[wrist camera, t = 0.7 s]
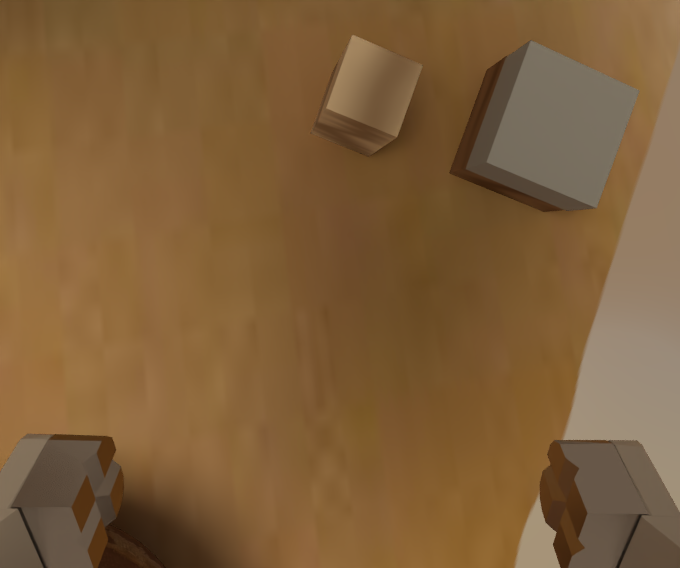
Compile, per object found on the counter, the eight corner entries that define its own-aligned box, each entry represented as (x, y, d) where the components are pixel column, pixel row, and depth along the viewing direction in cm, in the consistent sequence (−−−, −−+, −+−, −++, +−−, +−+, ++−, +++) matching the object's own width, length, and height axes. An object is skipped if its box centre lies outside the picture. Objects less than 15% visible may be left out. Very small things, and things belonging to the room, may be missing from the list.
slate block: (465, 169, 46) (486, 162, 42) (505, 57, 46) (530, 40, 42) (566, 210, 47) (596, 208, 43) (606, 103, 47) (639, 90, 43)
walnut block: (448, 173, 50) (465, 167, 46) (485, 70, 50) (506, 56, 46) (542, 211, 51) (567, 209, 47) (578, 112, 51) (606, 101, 47)
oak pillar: (310, 133, 47) (326, 108, 38) (331, 73, 47) (352, 34, 38) (368, 156, 48) (397, 137, 39) (389, 97, 48) (422, 65, 39)
